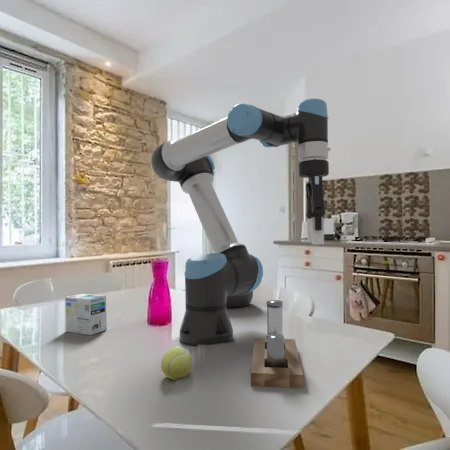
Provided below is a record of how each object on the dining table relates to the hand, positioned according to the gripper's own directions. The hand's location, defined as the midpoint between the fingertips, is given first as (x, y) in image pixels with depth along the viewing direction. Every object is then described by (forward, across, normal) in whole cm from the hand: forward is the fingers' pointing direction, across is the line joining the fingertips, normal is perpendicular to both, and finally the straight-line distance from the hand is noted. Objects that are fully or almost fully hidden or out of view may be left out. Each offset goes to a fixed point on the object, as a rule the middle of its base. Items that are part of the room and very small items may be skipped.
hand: (315, 243), depth 94 cm
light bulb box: (+27, +8, +68) cm, 74 cm away
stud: (+26, -9, +11) cm, 30 cm away
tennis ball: (+27, -22, +31) cm, 47 cm away
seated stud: (+26, -20, +10) cm, 35 cm away
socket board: (+27, -14, +11) cm, 32 cm away
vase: (+27, +49, +28) cm, 62 cm away
